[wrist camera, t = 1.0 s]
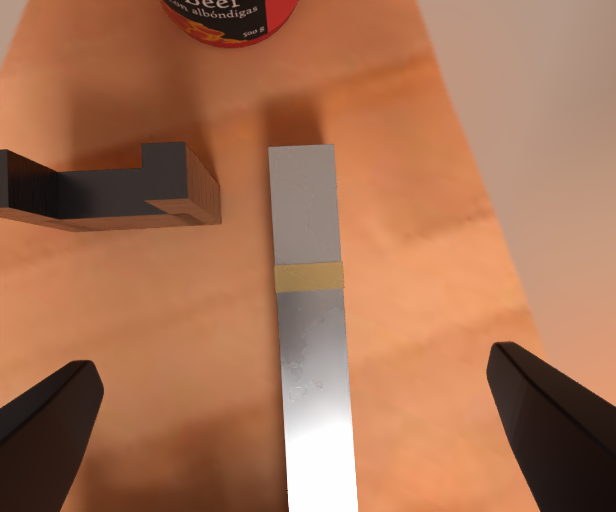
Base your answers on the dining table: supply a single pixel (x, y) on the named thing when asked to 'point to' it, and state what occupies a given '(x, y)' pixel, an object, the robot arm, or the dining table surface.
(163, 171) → the collar stand
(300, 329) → the grey metal bar
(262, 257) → the dining table surface
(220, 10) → the canned food
